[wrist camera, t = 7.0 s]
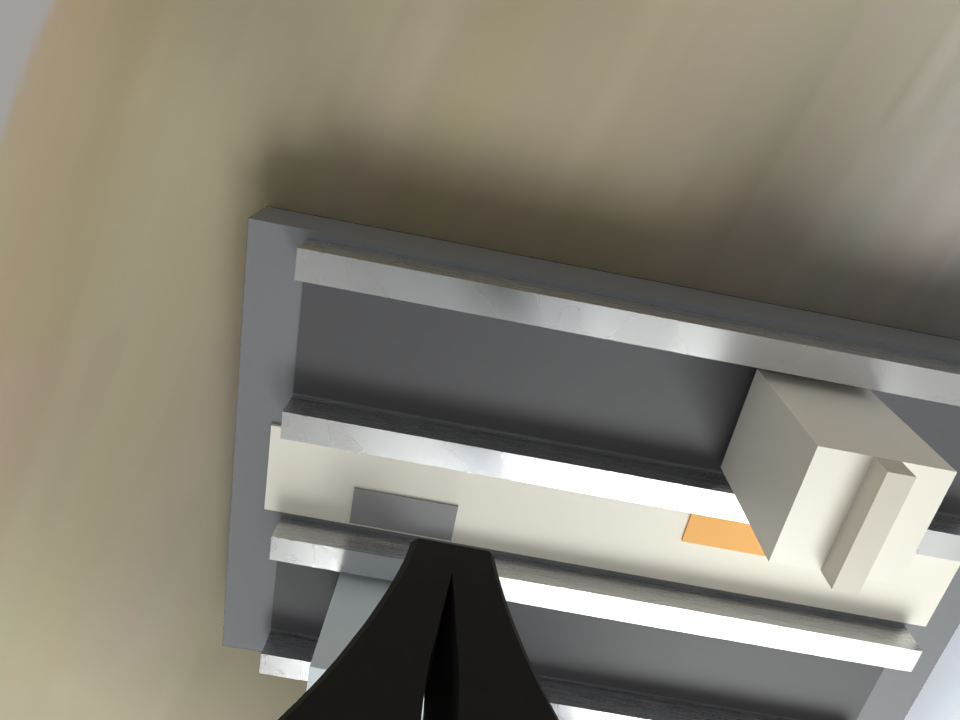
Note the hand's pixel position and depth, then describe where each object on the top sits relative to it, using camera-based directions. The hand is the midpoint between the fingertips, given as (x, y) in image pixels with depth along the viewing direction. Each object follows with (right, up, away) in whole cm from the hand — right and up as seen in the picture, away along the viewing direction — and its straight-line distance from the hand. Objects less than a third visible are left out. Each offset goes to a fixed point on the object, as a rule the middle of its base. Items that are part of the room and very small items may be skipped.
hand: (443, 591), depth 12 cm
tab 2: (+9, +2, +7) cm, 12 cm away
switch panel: (+5, 0, +10) cm, 11 cm away
